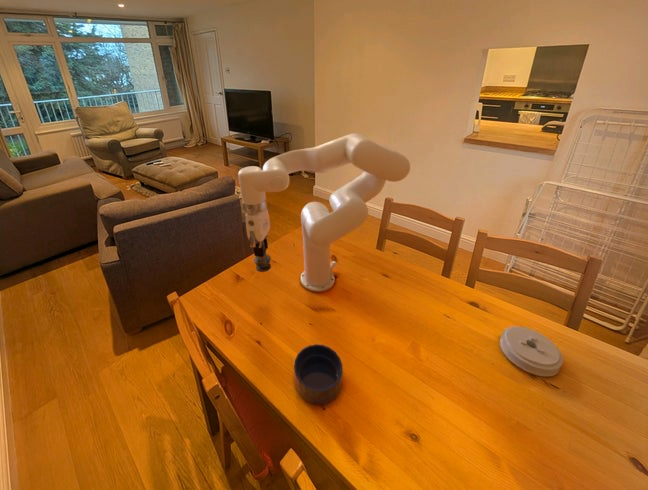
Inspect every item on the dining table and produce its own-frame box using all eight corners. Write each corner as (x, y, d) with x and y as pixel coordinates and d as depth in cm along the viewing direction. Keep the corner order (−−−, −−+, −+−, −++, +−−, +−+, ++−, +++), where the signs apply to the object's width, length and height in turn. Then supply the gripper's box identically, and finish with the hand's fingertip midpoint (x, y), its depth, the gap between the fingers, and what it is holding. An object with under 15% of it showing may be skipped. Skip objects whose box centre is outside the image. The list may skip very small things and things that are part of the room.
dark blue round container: (315, 351, 83) (314, 336, 81) (351, 379, 75) (352, 364, 73) (285, 382, 76) (284, 367, 73) (322, 418, 68) (322, 402, 65)
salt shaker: (269, 273, 100) (265, 244, 95) (253, 272, 102) (248, 243, 97) (273, 262, 106) (270, 234, 101) (257, 261, 107) (253, 233, 102)
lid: (556, 389, 70) (563, 376, 68) (494, 357, 78) (498, 345, 76) (560, 352, 79) (566, 339, 77) (503, 327, 87) (507, 315, 85)
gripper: (257, 218, 85) (264, 269, 93) (273, 194, 100) (278, 239, 107) (233, 217, 87) (242, 266, 95) (253, 193, 102) (259, 237, 109)
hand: (261, 251), depth 101 cm, fingers closed on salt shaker, 3 cm apart
